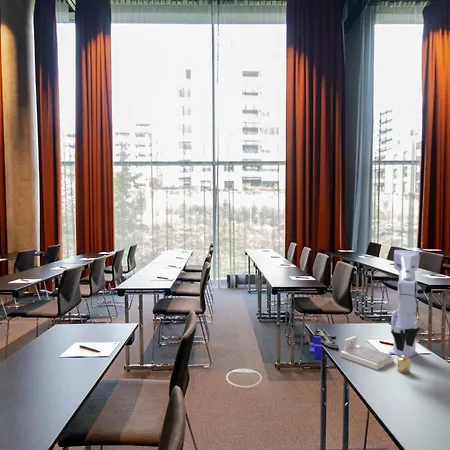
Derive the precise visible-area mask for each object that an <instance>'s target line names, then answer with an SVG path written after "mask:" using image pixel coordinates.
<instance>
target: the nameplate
mask: <svg viewBox="0 0 450 450" xmlns="http://www.w3.org/2000/svg"><path fill="white" fill-rule="evenodd" d="M314 332H315V333H313V337H314V336H320V337H321V339H322V340H321V345H322V346H323V347H324V348H327V349H329V350H333V351H340V347H339V345H338V344H336V341H335V340H336V339H337V336H336V335H331V334H330V333H329V331H327V330H326V329H325V327H321V329H319V328H315V331H314Z"/></svg>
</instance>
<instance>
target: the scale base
mask: <svg viewBox="0 0 450 450" xmlns="http://www.w3.org/2000/svg"><path fill="white" fill-rule="evenodd" d="M357 343H358V336H356V335H353V336H351V337H347V338H346V339H344V340H343V350H341V351H340V352H339V357H340V358H343V359H346V360H349V361H351V362H354V363H356V364H359V365H362V366H365V367H368V368H371V369H374V370H379V369H382V368H383V367H385V366H388V365H390V364H392V363H393V362H394V356H392V357H391V358H389V359H387V360H385V361H383V362H381V363H377V362H374V361H371V360H368V359H365V358H362V357H359V356H357V355H354V354H351V353H349V351H350V350H352V349H355V348H358V347H360V346H361V345H359V344H357Z"/></svg>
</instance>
